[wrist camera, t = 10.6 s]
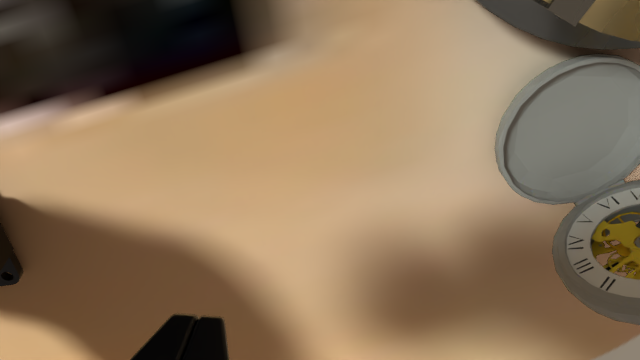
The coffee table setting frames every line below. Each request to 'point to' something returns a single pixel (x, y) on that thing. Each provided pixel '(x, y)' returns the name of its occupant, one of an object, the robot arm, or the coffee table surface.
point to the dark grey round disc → (553, 25)
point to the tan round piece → (600, 15)
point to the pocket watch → (583, 172)
